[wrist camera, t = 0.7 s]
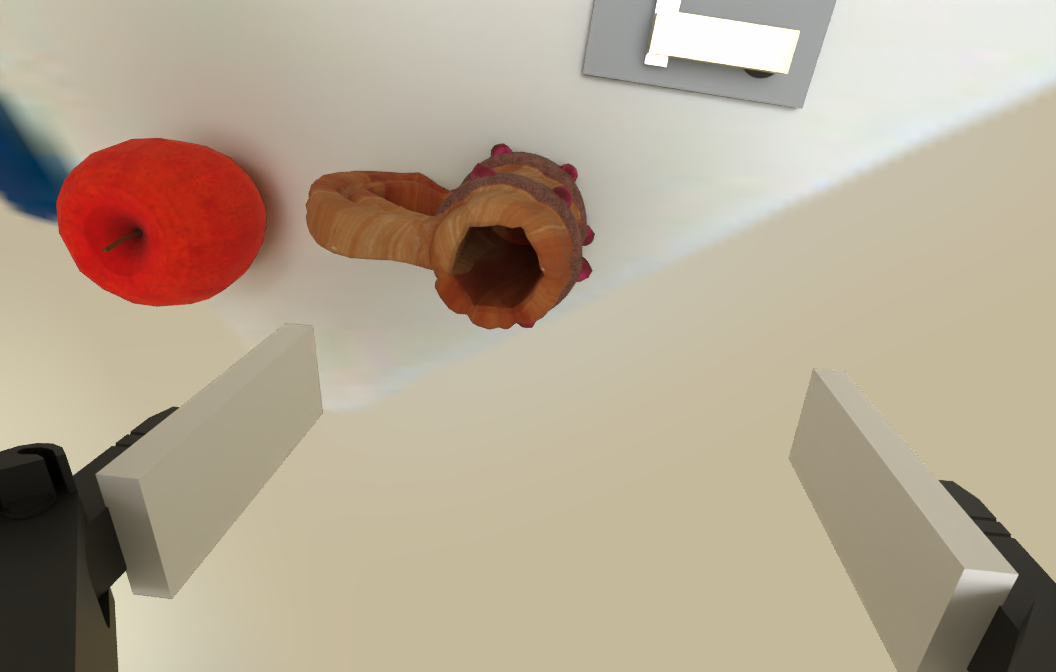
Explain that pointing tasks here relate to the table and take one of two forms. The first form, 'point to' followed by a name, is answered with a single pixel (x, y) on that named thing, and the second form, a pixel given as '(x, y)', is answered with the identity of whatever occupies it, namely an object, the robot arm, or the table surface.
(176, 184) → the apple
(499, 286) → the mug
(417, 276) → the table surface
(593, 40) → the flange plate
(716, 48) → the beam
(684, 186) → the table surface
